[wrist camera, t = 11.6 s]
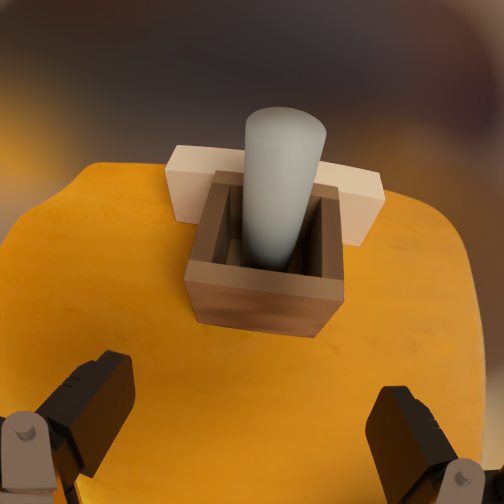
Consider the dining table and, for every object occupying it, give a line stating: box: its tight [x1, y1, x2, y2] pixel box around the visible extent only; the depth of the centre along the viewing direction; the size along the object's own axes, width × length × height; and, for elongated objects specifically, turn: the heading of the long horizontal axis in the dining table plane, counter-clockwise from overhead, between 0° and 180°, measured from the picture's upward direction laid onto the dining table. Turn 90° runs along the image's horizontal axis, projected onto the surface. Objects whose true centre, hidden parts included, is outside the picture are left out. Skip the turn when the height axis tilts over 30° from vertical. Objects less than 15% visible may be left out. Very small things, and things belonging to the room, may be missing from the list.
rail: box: [165, 145, 385, 246], centre depth 23 cm, size 16×3×6 cm, turn 83°
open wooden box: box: [183, 170, 344, 338], centre depth 19 cm, size 8×8×7 cm
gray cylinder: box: [241, 107, 326, 273], centre depth 17 cm, size 4×4×12 cm
